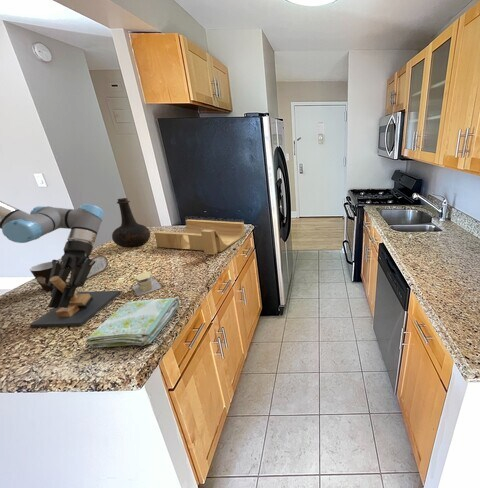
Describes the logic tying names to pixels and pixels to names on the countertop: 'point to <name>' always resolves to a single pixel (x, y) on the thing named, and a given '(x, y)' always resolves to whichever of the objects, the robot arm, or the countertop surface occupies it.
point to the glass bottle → (129, 228)
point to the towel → (134, 323)
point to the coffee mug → (43, 274)
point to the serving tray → (80, 316)
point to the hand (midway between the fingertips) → (58, 307)
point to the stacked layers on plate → (145, 283)
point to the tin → (97, 265)
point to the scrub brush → (78, 299)
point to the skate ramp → (202, 236)
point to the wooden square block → (67, 311)
